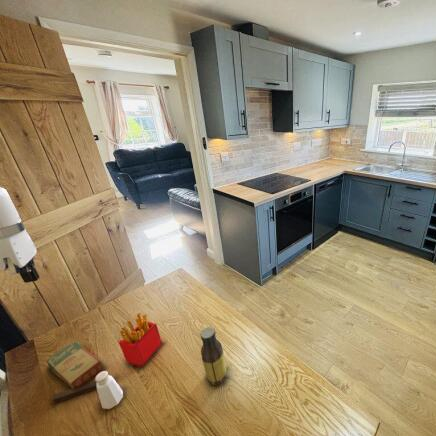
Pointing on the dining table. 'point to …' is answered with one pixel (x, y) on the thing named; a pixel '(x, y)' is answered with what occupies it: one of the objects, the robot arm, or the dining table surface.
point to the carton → (74, 365)
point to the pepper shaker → (108, 390)
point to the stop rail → (75, 392)
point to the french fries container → (140, 341)
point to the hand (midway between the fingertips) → (32, 280)
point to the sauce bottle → (213, 357)
